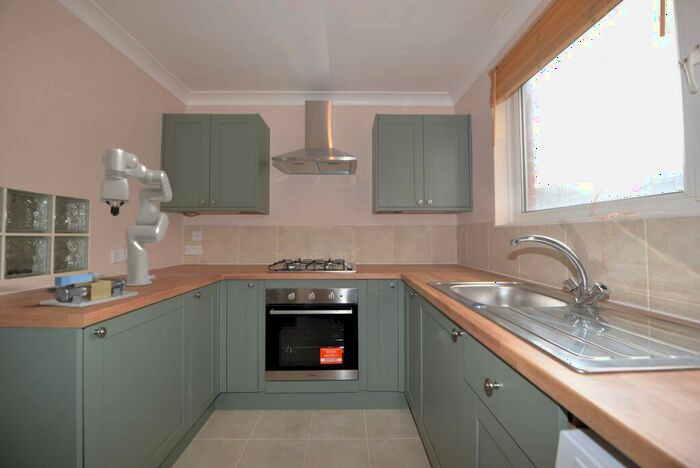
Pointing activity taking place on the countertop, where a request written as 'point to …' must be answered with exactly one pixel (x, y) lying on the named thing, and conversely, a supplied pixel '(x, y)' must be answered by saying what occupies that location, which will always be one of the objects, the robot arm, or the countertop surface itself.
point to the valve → (56, 288)
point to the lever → (76, 279)
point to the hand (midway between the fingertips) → (114, 215)
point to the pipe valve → (89, 293)
